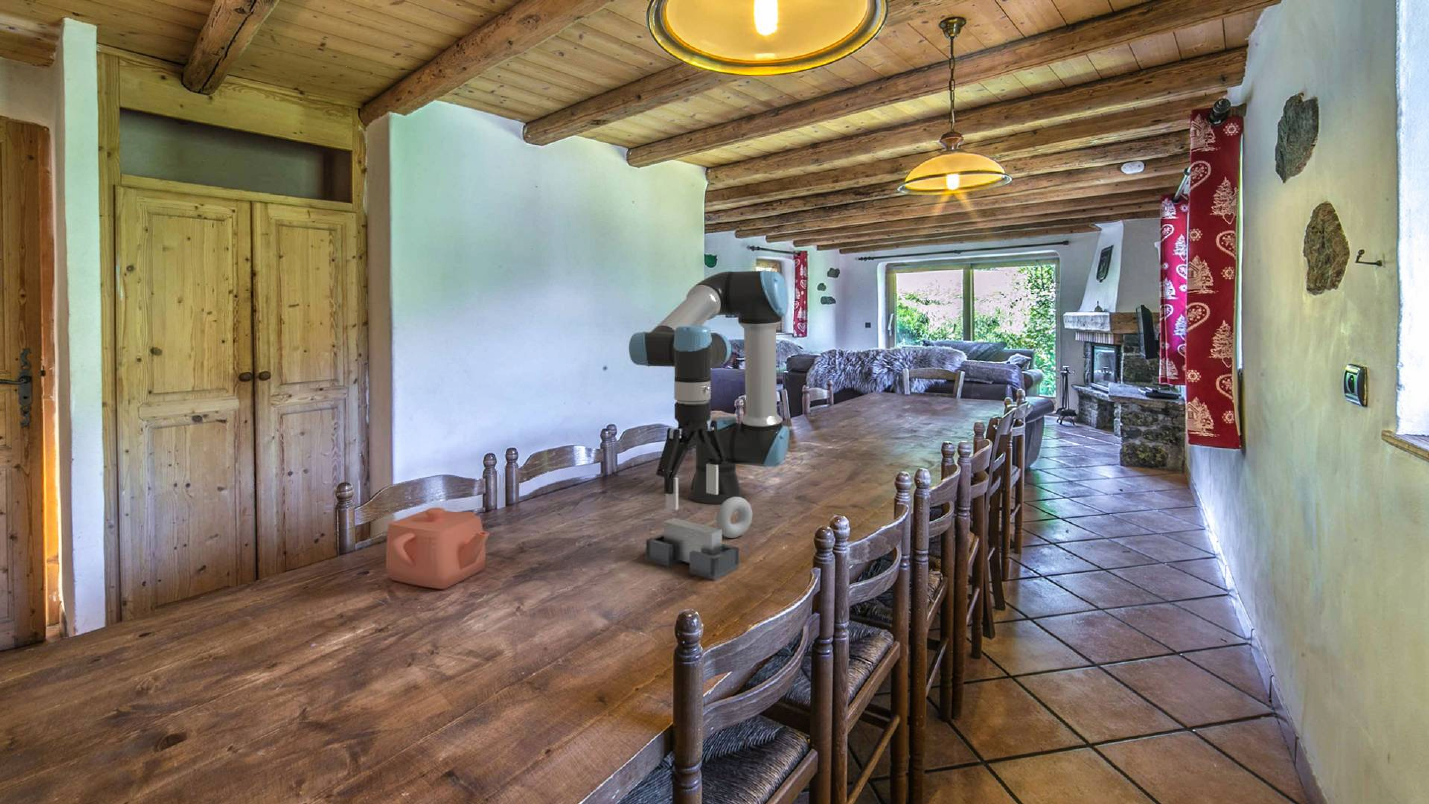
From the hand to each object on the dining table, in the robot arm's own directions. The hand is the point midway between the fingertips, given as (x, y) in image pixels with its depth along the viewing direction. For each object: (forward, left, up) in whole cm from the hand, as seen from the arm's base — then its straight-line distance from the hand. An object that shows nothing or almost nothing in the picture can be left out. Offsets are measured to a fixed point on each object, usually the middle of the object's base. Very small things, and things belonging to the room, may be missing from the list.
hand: (692, 500), depth 143 cm
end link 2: (0, +6, -14) cm, 15 cm away
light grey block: (0, 0, -13) cm, 13 cm away
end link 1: (0, -6, -14) cm, 15 cm away
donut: (-20, -3, -14) cm, 24 cm away
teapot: (+36, -34, -14) cm, 52 cm away
